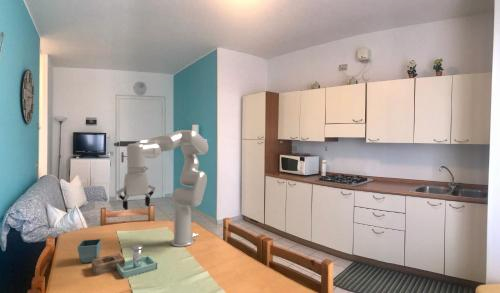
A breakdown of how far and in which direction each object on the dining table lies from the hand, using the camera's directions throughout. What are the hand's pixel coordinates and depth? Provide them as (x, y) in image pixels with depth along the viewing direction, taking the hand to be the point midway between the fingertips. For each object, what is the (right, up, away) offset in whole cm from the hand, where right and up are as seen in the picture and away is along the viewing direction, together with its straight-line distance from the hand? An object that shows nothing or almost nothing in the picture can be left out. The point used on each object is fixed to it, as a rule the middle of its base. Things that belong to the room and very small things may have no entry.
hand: (136, 207), depth 133 cm
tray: (0, -28, 0) cm, 28 cm away
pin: (0, -28, 0) cm, 28 cm away
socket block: (-13, -28, 0) cm, 31 cm away
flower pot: (-26, -28, +8) cm, 39 cm away
